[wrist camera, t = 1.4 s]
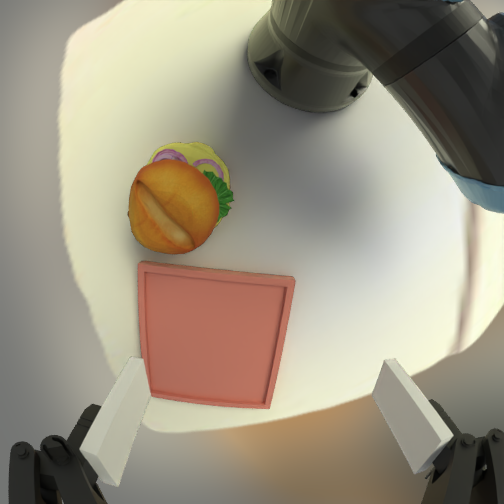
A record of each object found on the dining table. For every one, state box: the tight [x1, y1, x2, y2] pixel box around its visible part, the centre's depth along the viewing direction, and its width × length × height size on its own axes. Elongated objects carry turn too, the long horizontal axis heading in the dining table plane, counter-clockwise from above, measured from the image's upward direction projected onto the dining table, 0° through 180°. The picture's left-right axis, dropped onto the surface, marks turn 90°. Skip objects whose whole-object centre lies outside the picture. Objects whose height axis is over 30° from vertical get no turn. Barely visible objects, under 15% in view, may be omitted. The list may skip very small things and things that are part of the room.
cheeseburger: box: [128, 142, 234, 254], centre depth 26 cm, size 10×11×10 cm
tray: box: [138, 261, 295, 409], centre depth 33 cm, size 20×18×2 cm
